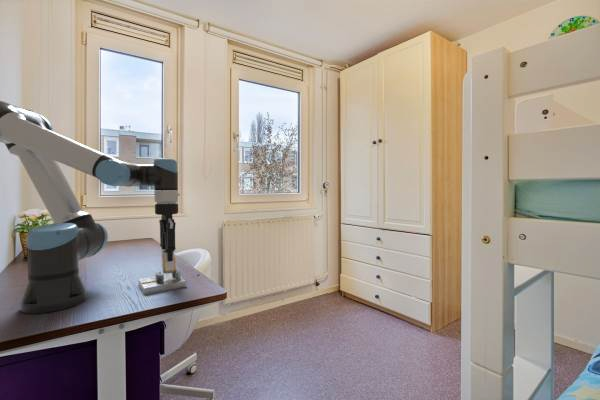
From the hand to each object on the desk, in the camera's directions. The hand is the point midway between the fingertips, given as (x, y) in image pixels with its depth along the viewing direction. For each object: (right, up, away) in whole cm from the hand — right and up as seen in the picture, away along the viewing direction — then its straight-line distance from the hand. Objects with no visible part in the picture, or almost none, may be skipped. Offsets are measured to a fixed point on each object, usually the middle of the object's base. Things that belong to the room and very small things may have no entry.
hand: (168, 268), depth 104 cm
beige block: (0, -1, 0) cm, 1 cm away
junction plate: (-2, -6, -1) cm, 6 cm away
